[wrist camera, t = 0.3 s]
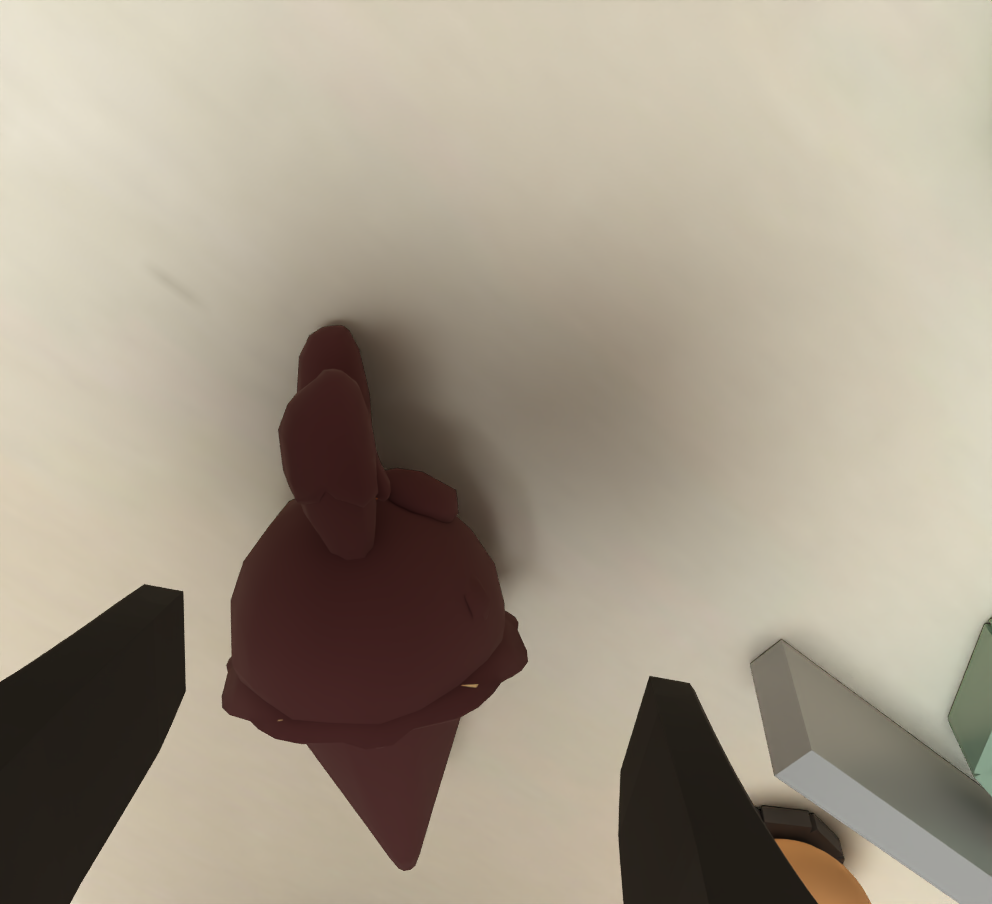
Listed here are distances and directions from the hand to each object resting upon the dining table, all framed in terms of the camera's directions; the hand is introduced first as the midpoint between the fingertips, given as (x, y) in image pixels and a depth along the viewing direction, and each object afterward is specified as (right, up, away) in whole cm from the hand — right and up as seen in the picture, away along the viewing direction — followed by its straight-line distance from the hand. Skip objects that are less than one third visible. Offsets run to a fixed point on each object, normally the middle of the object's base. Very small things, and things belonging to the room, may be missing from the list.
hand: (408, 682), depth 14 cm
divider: (+14, -6, +13) cm, 20 cm away
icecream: (-1, +1, +11) cm, 11 cm away
